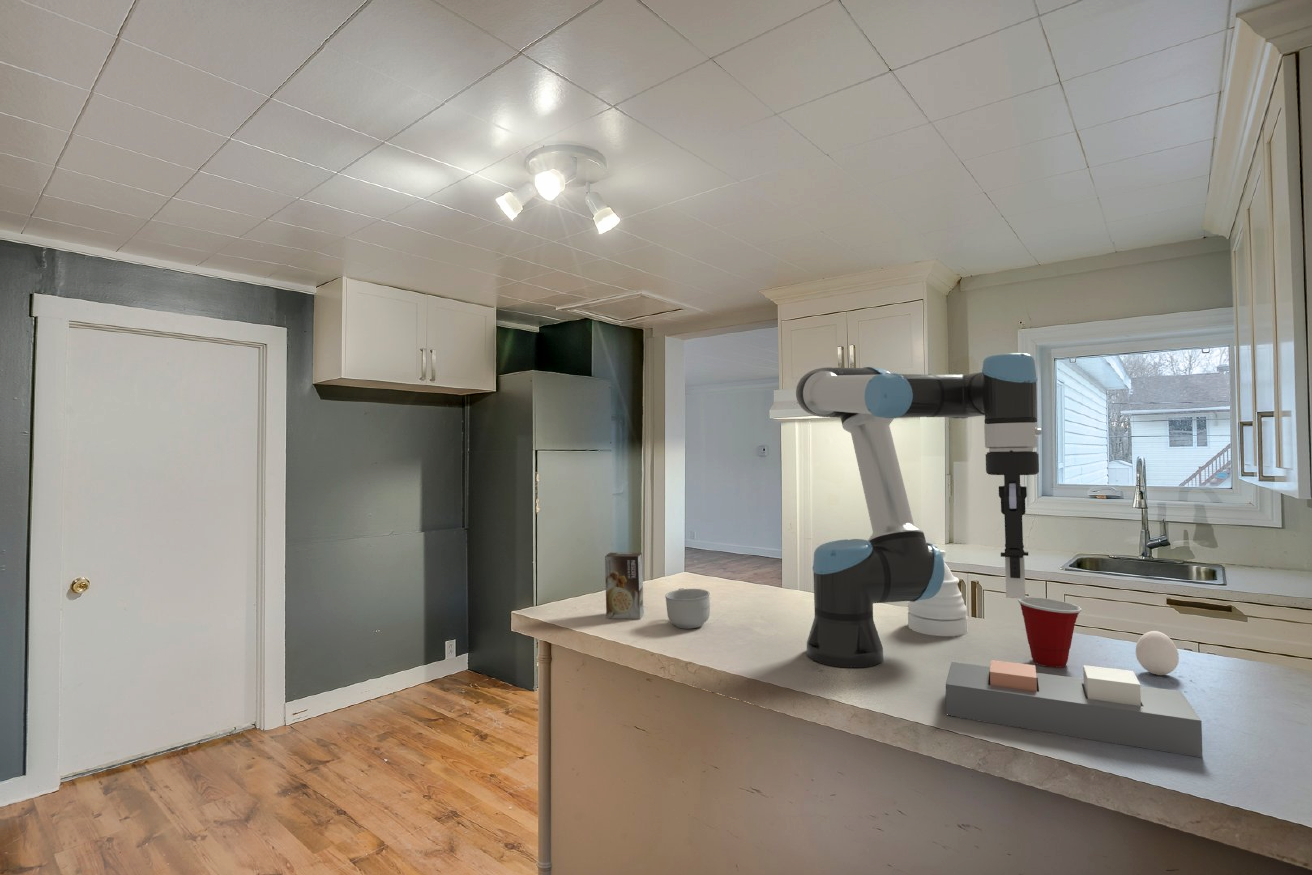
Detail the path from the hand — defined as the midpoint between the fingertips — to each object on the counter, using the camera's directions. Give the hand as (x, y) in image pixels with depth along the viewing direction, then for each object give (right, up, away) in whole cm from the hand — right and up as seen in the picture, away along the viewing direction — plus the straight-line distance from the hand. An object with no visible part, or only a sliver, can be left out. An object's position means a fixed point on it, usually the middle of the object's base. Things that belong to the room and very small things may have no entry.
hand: (1015, 597), depth 105 cm
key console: (+6, -18, -3) cm, 19 cm away
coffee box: (-66, -21, +65) cm, 95 cm away
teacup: (-50, -21, +57) cm, 78 cm away
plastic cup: (+20, -19, +23) cm, 36 cm away
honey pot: (+9, -20, +49) cm, 53 cm away
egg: (+35, -19, +16) cm, 43 cm away
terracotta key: (0, -16, 0) cm, 16 cm away
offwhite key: (+11, -14, -6) cm, 19 cm away
